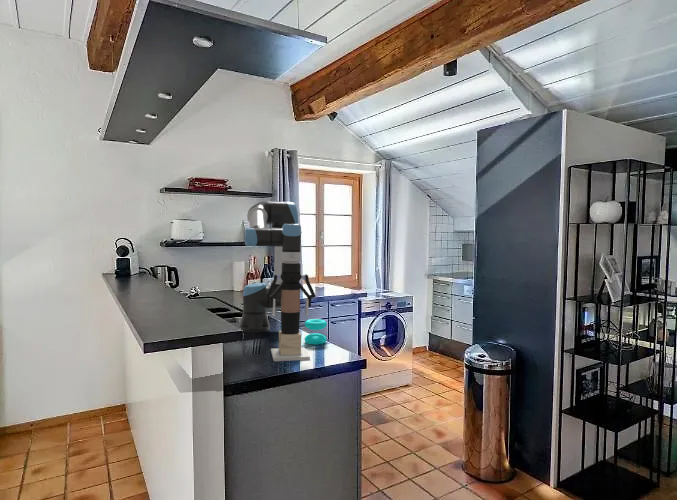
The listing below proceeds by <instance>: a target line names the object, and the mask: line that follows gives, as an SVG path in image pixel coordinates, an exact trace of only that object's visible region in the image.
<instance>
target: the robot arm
mask: <svg viewBox="0 0 677 500" xmlns="http://www.w3.org/2000/svg"><path fill="white" fill-rule="evenodd" d="M246 216H247V221H248V222H249V227H247V228H245V230H244V245H245V246H246V247H274V261H273V262H274V269H273V270H274V271H273V273H274V274H273V279H272V280H271V282H270V283H271V284H270V285H268V284H267V283H266V282H257V283H251V284H247V285H244V287H243V289H242V290H243V291H242V316H241V320H240V323H239V326H238V329H239V328H241V329H242V330H243V332H242V333H246V334H260V333H265V332H269V331H270V327H271V325H270V322H269V318H268V315H267V310H272V317H276V310H278V309H279V310H281V289H282V288H283V284H299V286H300V291H302V293H303V294H304V295H305V296H306V298H305V316H309V308H311V306H312V299H314V298H316V293H315V291H314V288H313V287H312V284H311V281H310V280H309V275H308V274H307V273H306V274H302V273H301V267H302V266H301V261H302V260H301V259H302V258H301V257H302V256H301V255H302V254H301V253H302V252H301V248H302V226H301V225H300V224H299V215H298V208H297V205H296V203H295V202H292V201H268V200H264V201H260V202H257V203H255V204H253V205H252V206H251V207H250V208H249V209H248V211H247V215H246ZM267 225H271V228H269V227H267ZM301 280H303V281H304V282H305V283H306V286H307V288H308V290H309V292H310V294H309V293H308V291H307V290H306V289H305V287H304V286H303V285H302V284H301Z"/></svg>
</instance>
